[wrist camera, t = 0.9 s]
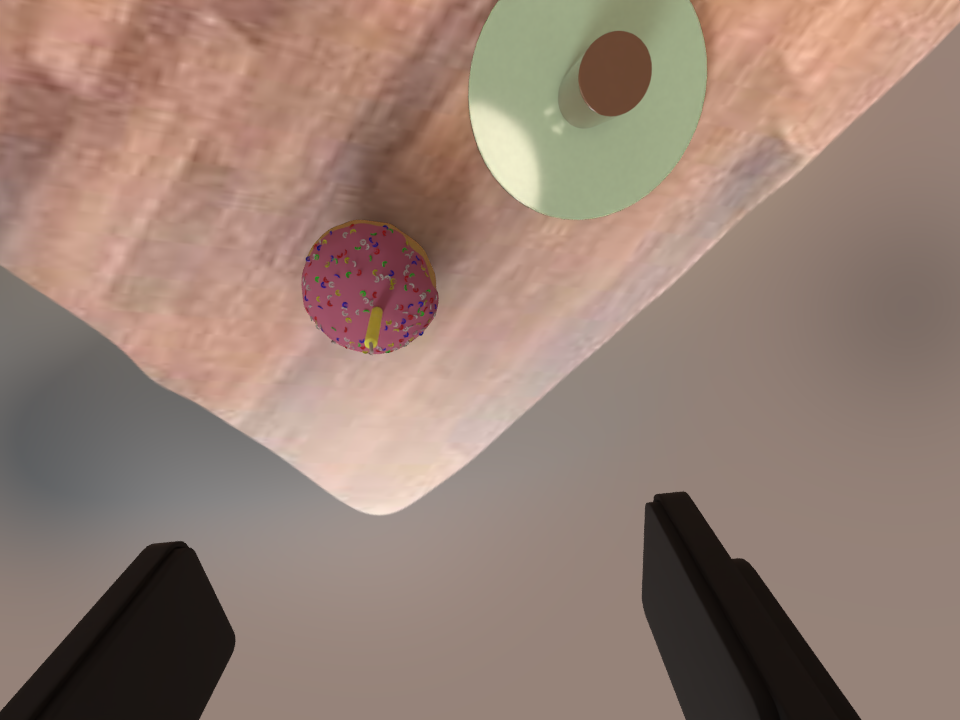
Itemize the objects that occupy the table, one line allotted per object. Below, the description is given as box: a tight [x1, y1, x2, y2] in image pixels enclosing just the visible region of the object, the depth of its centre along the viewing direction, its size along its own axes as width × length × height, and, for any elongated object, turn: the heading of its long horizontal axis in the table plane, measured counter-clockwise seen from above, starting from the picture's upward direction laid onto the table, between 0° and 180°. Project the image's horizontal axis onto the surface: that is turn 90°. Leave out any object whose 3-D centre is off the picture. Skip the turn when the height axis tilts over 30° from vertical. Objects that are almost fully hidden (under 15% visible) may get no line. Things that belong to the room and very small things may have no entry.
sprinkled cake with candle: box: [302, 220, 439, 355], centre depth 27 cm, size 9×8×12 cm
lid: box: [468, 0, 707, 220], centre depth 25 cm, size 15×15×7 cm
